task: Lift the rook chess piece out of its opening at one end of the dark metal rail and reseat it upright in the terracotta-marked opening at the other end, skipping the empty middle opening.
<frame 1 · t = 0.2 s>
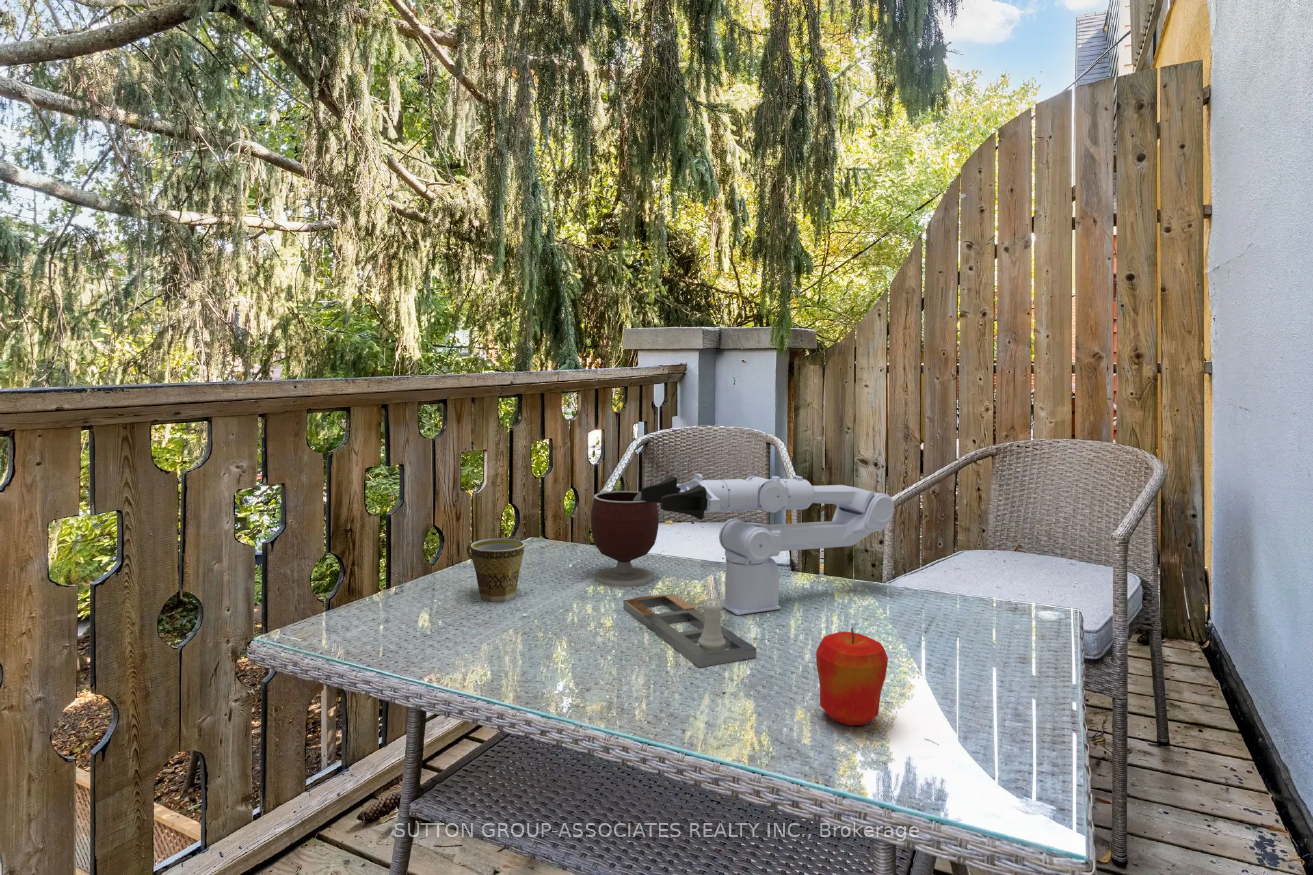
hand: (651, 498, 128), 21 cm above the table, tool horizontal, fingers open, 7 cm apart
ceramic cup: (492, 596, 143), on the table
apple: (848, 720, 95), on the table
mate gourd: (626, 579, 155), on the table
rook chess piece: (711, 652, 117), resting in hole rail
hole rail: (683, 630, 125), on the table
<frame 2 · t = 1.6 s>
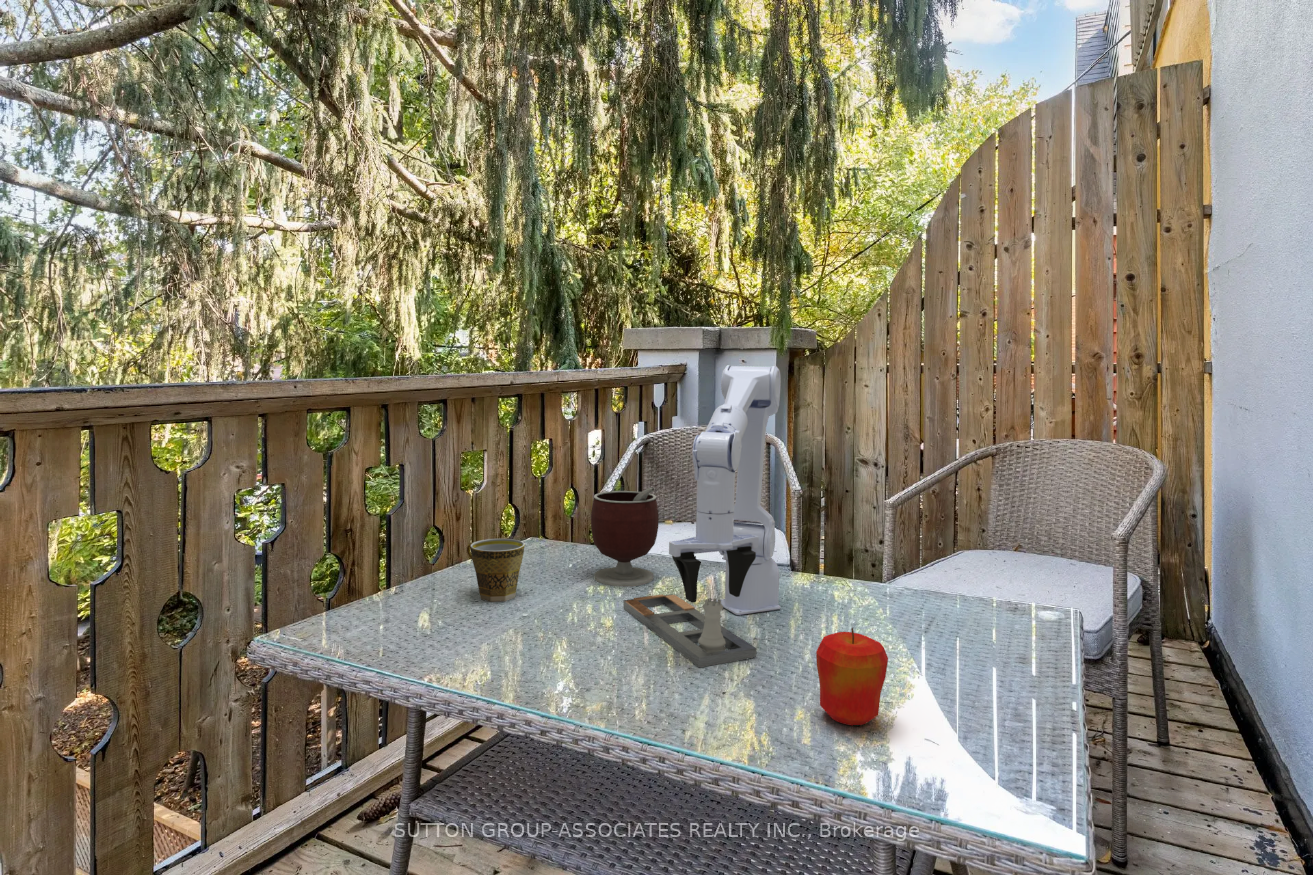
hand: (712, 597, 116), 8 cm above the table, tool pointing down, fingers open, 7 cm apart
nothing on the table moved.
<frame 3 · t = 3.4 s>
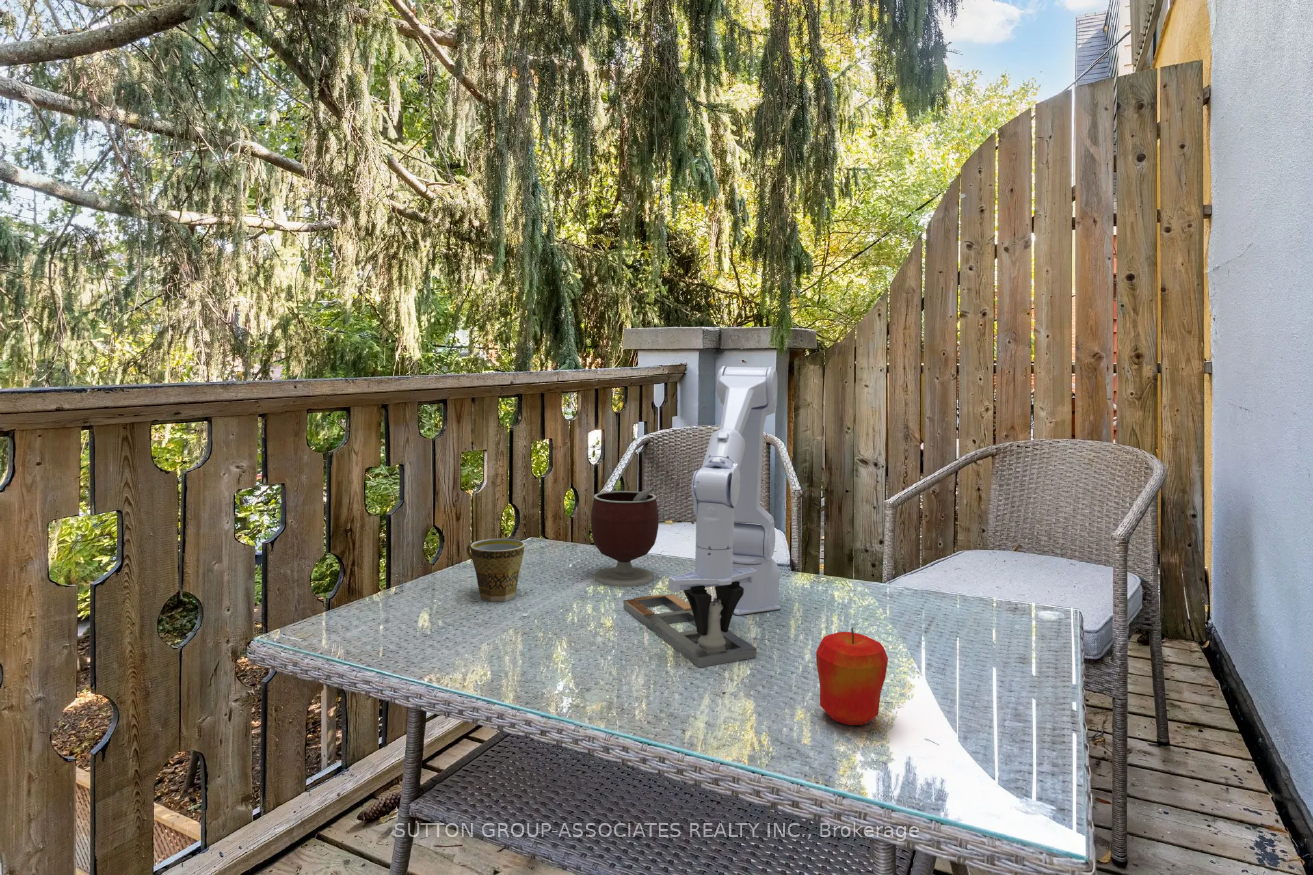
hand: (712, 631, 116), 3 cm above the table, tool pointing down, fingers closed on rook chess piece, 3 cm apart
rook chess piece: (711, 652, 117), resting in hole rail, touching gripper
everything else where it was.
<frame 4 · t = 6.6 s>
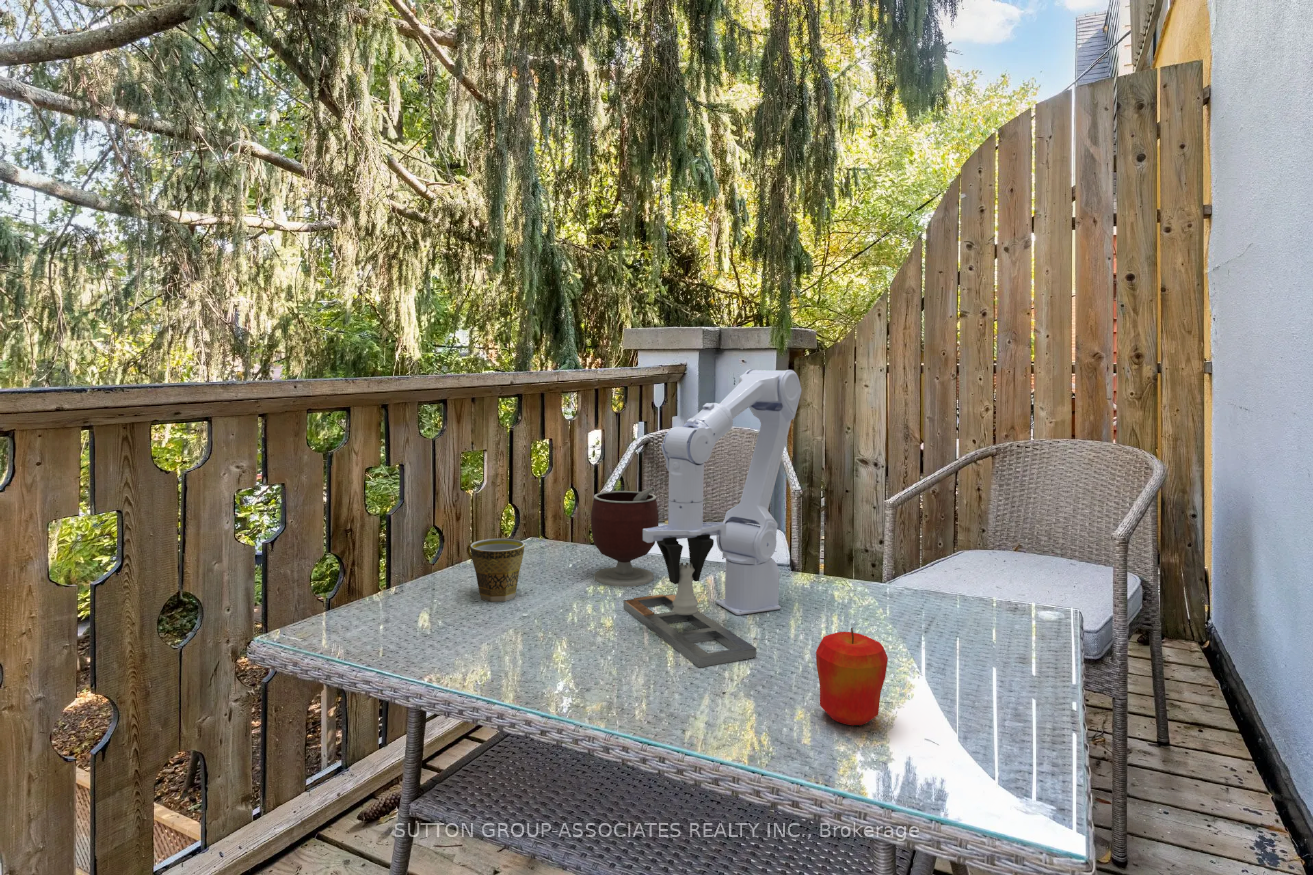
hand: (684, 581, 125), 8 cm above the table, tool pointing down, fingers closed on rook chess piece, 3 cm apart
rook chess piece: (685, 613, 125), point 3 cm above the table, touching gripper
everything else where it was.
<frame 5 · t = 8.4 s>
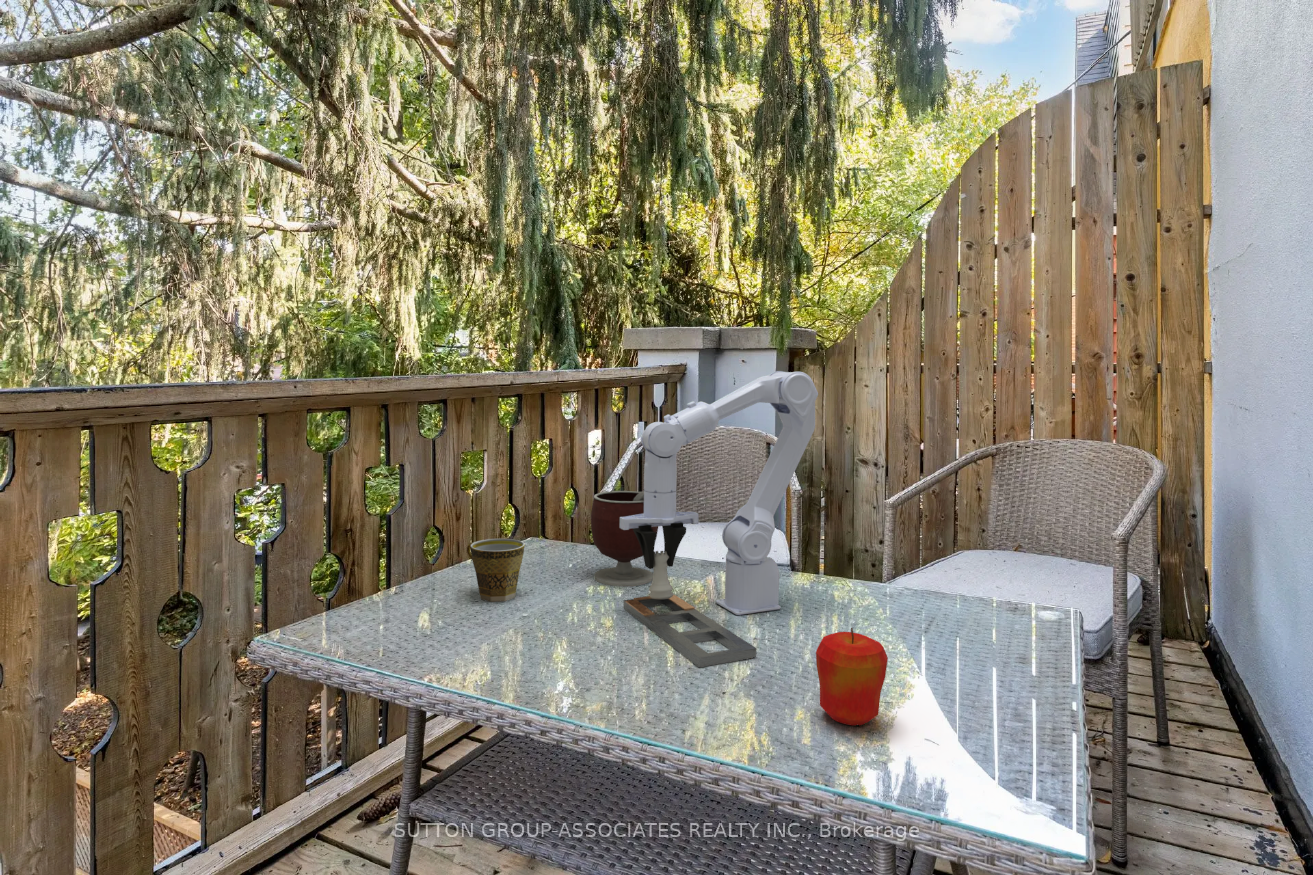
hand: (658, 566, 134), 8 cm above the table, tool pointing down, fingers closed on rook chess piece, 3 cm apart
rook chess piece: (661, 598, 133), point 3 cm above the table, touching gripper
everything else where it was.
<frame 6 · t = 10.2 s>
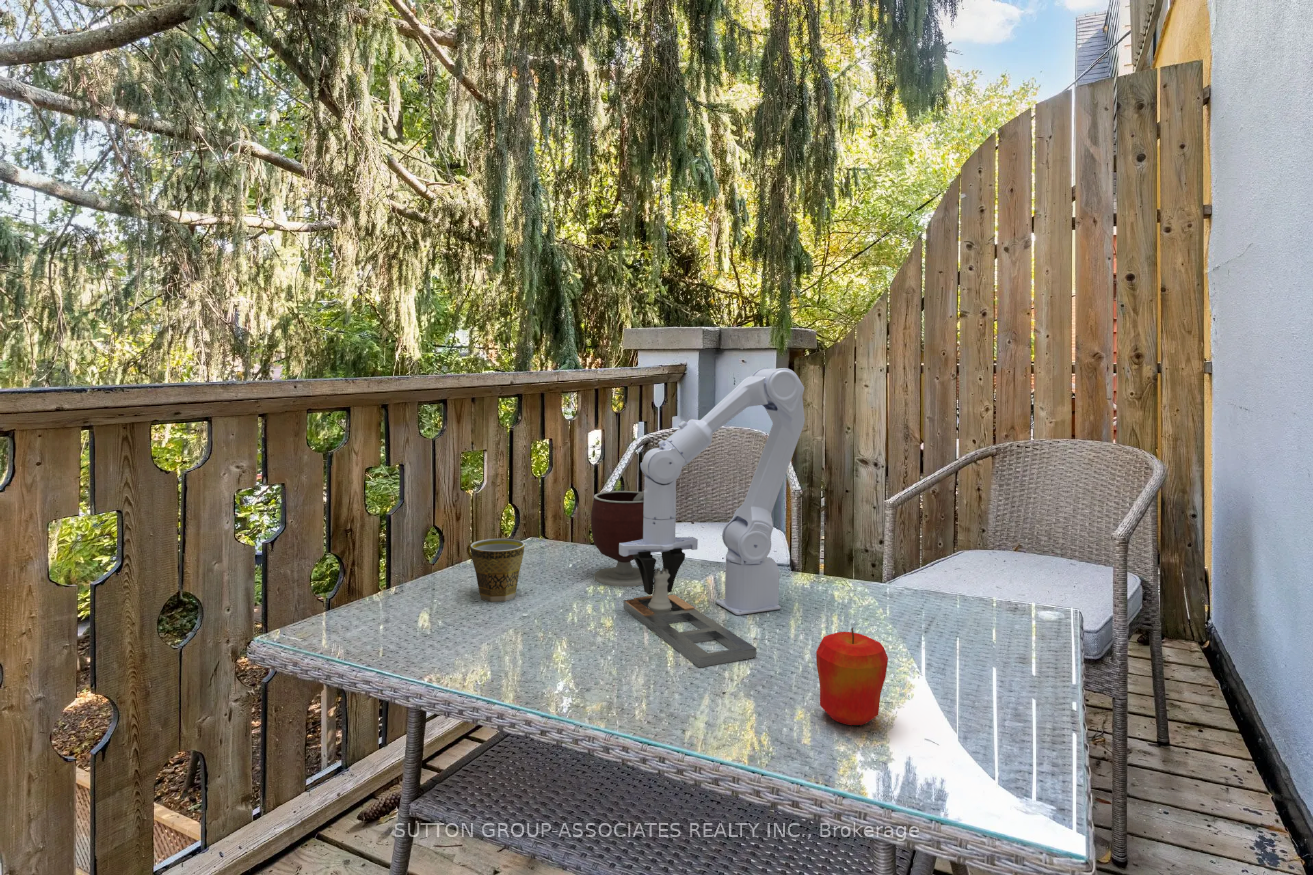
hand: (657, 591, 134), 4 cm above the table, tool pointing down, fingers closed on rook chess piece, 3 cm apart
rook chess piece: (659, 615, 133), resting in hole rail, touching gripper
everything else where it was.
when the fingers open (4 cm above the table, at t = 11.0 s): rook chess piece stays where it is, resting in hole rail.
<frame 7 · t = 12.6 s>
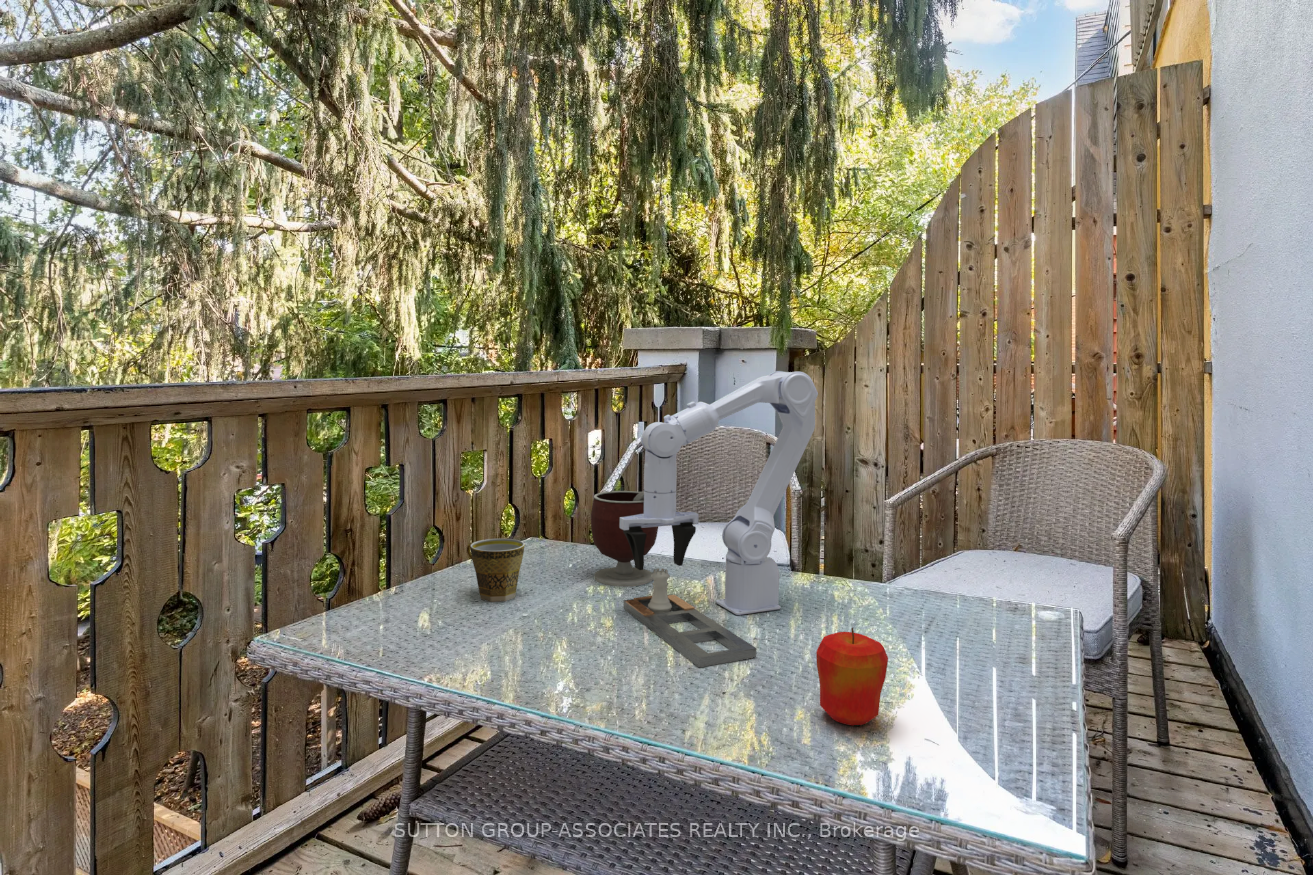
hand: (658, 566, 134), 8 cm above the table, tool pointing down, fingers open, 7 cm apart
rook chess piece: (659, 615, 133), resting in hole rail
everything else where it was.
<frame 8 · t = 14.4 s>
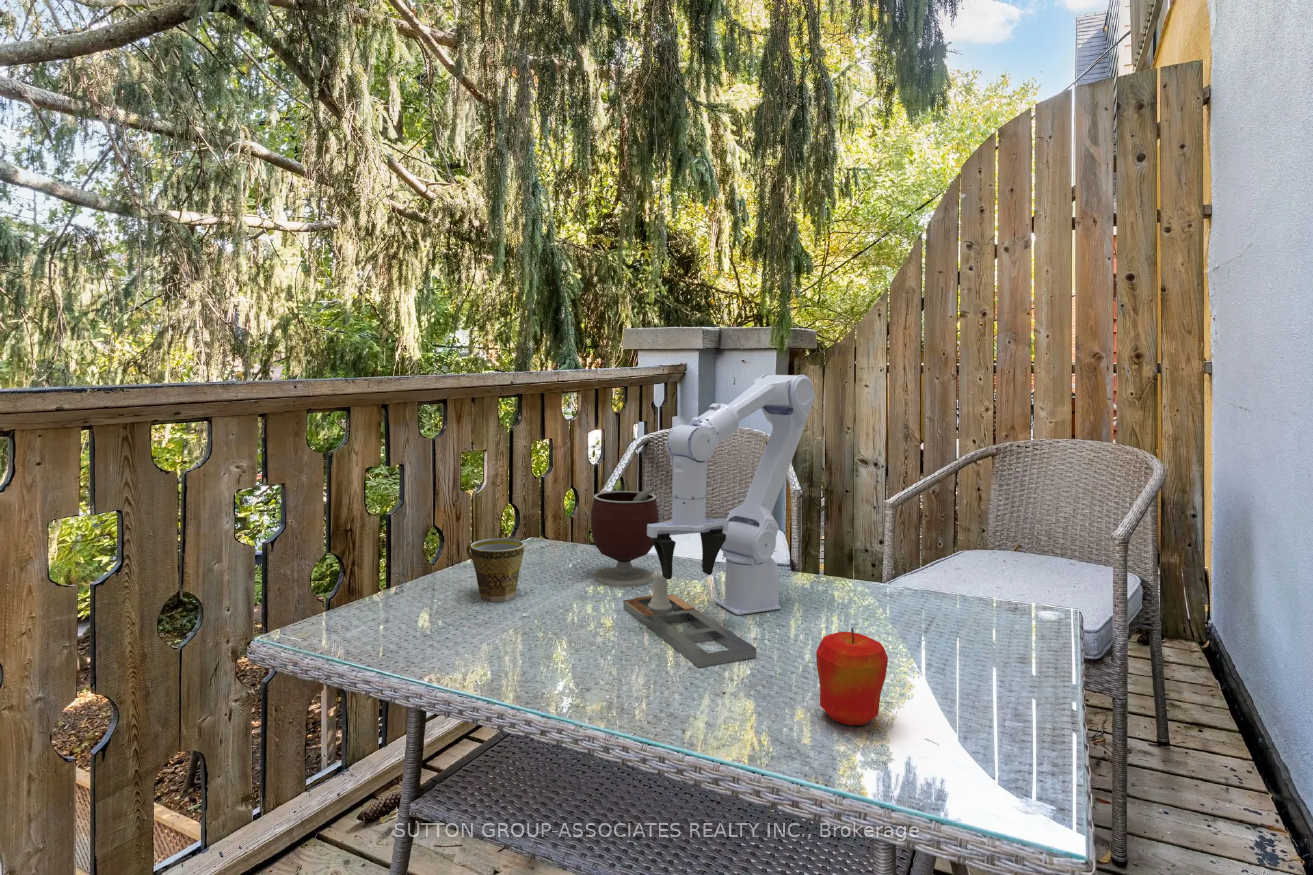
hand: (687, 575, 128), 8 cm above the table, tool pointing down, fingers open, 7 cm apart
nothing on the table moved.
at the end: rook chess piece 0.4 cm from the target spot, resting in hole rail; rook chess piece tilted 0°; the gripper is holding nothing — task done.
